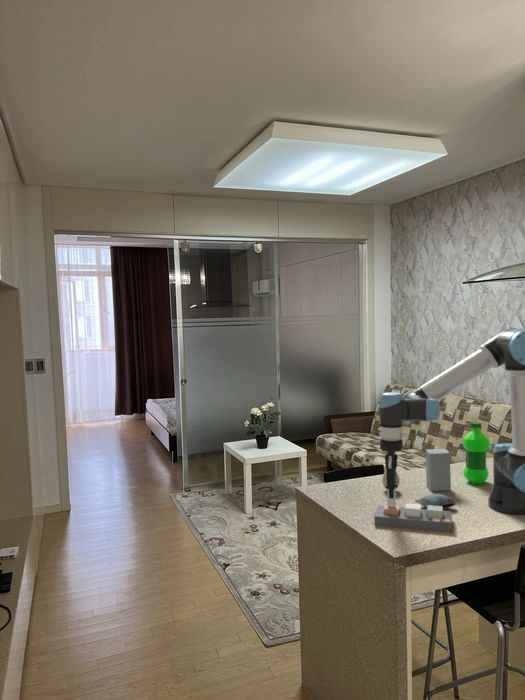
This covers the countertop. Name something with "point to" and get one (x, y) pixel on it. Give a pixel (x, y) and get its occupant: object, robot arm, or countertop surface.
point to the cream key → (413, 510)
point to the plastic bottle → (476, 454)
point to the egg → (386, 479)
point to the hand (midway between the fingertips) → (391, 506)
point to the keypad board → (414, 520)
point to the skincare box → (438, 469)
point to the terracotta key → (392, 510)
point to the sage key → (434, 512)
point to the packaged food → (436, 501)
